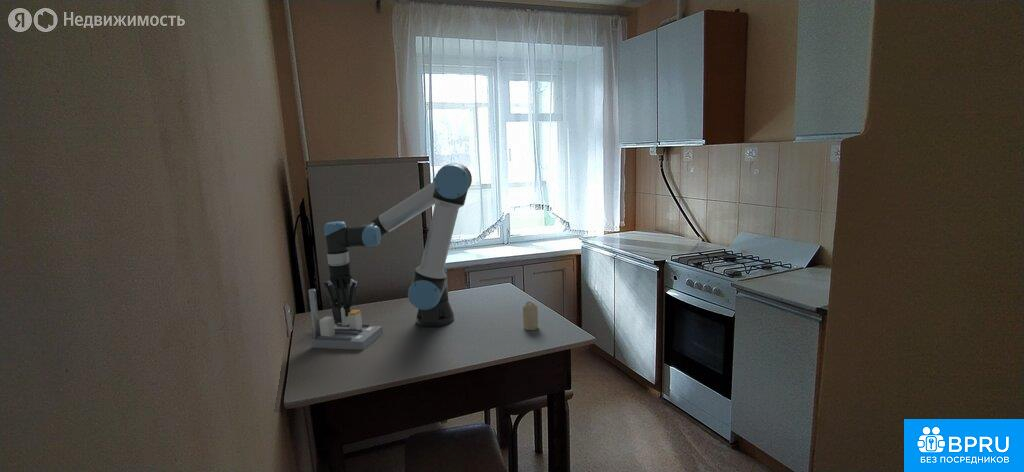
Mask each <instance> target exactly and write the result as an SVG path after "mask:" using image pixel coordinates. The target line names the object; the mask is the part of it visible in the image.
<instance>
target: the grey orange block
mask: <svg viewBox="0 0 1024 472" xmlns="http://www.w3.org/2000/svg"><path fill="white" fill-rule="evenodd" d="M348 319H349V328H350V329H360V328H362V324H363V320H362V312H361V309H352V310H350V312H349V313H348Z"/></svg>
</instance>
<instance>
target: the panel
mask: <svg viewBox="0 0 1024 472" xmlns="http://www.w3.org/2000/svg"><path fill="white" fill-rule="evenodd" d="M334 329H335V335H333V336H332V337H330V336H318V337H317V339H314V338H312V339H311V345H312V346H311V347H312V349H336V350H357V351H358V350H363V351H364V350H366V348H368V347H369V346H370V345H371V344H372V343H374V342H375V341H376V340H377V339H378V338H380V337H381V336H382V335H383V334H384V330H383V329H384V328H383V326H382V325H370V323H362V328H360V329H350V328H349V324H348V325H346V326H342V323H337V325H335V324H334ZM379 336H380V337H379Z"/></svg>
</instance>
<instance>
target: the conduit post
mask: <svg viewBox="0 0 1024 472" xmlns="http://www.w3.org/2000/svg"><path fill="white" fill-rule="evenodd" d="M316 291H317V289H316V288H309V289H308V299H309V307H310V308H309V309H310V315H311V322H312V323H311V324H312V334H313V339H317V337H318V336H321V331H320V322H319V320H320V313H319V308H318V299H317V292H316Z"/></svg>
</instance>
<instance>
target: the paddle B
mask: <svg viewBox="0 0 1024 472" xmlns="http://www.w3.org/2000/svg"><path fill="white" fill-rule="evenodd" d="M319 322H320V331H321V336H330V337H332V336H333V335H335V329H334V325H335V322H334V318H333V316H327V315H326V316H324V317H322V318H319Z"/></svg>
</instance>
